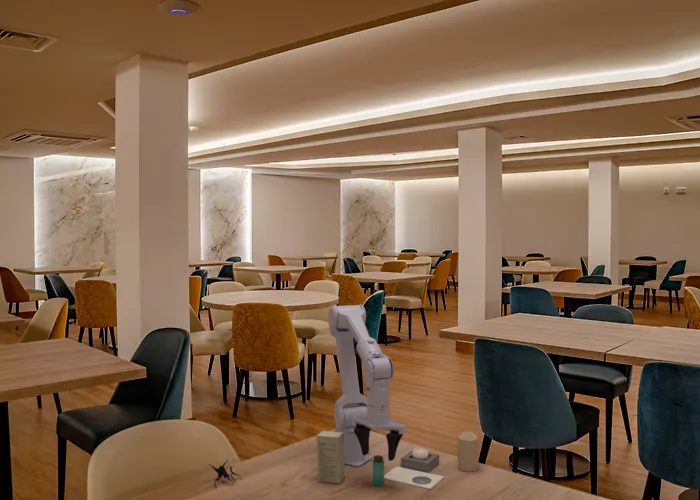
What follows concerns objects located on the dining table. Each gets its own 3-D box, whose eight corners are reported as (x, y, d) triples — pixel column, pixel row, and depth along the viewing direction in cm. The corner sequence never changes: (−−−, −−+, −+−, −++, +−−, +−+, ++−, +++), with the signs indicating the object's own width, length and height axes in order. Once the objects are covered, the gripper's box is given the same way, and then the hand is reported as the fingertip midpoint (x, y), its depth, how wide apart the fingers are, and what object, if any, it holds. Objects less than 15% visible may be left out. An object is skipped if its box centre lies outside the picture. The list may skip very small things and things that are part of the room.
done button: (409, 462, 173) (409, 451, 173) (416, 457, 177) (416, 446, 177) (424, 465, 171) (424, 454, 171) (430, 460, 175) (430, 449, 175)
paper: (381, 478, 165) (381, 476, 165) (396, 467, 173) (396, 465, 173) (430, 489, 158) (430, 488, 158) (444, 477, 165) (444, 476, 165)
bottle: (370, 484, 161) (370, 457, 161) (376, 480, 164) (376, 454, 163) (380, 487, 159) (380, 459, 159) (386, 483, 162) (386, 456, 162)
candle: (478, 472, 169) (478, 435, 169) (457, 471, 170) (457, 434, 170) (478, 465, 174) (478, 429, 174) (457, 463, 175) (458, 428, 175)
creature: (246, 485, 163) (229, 471, 169) (248, 467, 162) (231, 453, 168) (220, 494, 158) (203, 479, 163) (222, 475, 157) (206, 460, 162)
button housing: (400, 467, 173) (400, 458, 173) (413, 458, 179) (413, 449, 179) (427, 473, 168) (427, 463, 168) (439, 463, 175) (439, 454, 175)
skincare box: (345, 478, 165) (345, 432, 165) (339, 484, 161) (339, 437, 161) (322, 475, 167) (322, 429, 167) (316, 481, 163) (316, 434, 163)
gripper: (346, 404, 161) (346, 456, 162) (396, 412, 154) (396, 467, 154) (359, 398, 167) (360, 448, 168) (409, 405, 160) (409, 458, 160)
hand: (378, 456), depth 161 cm, fingers open, 7 cm apart
